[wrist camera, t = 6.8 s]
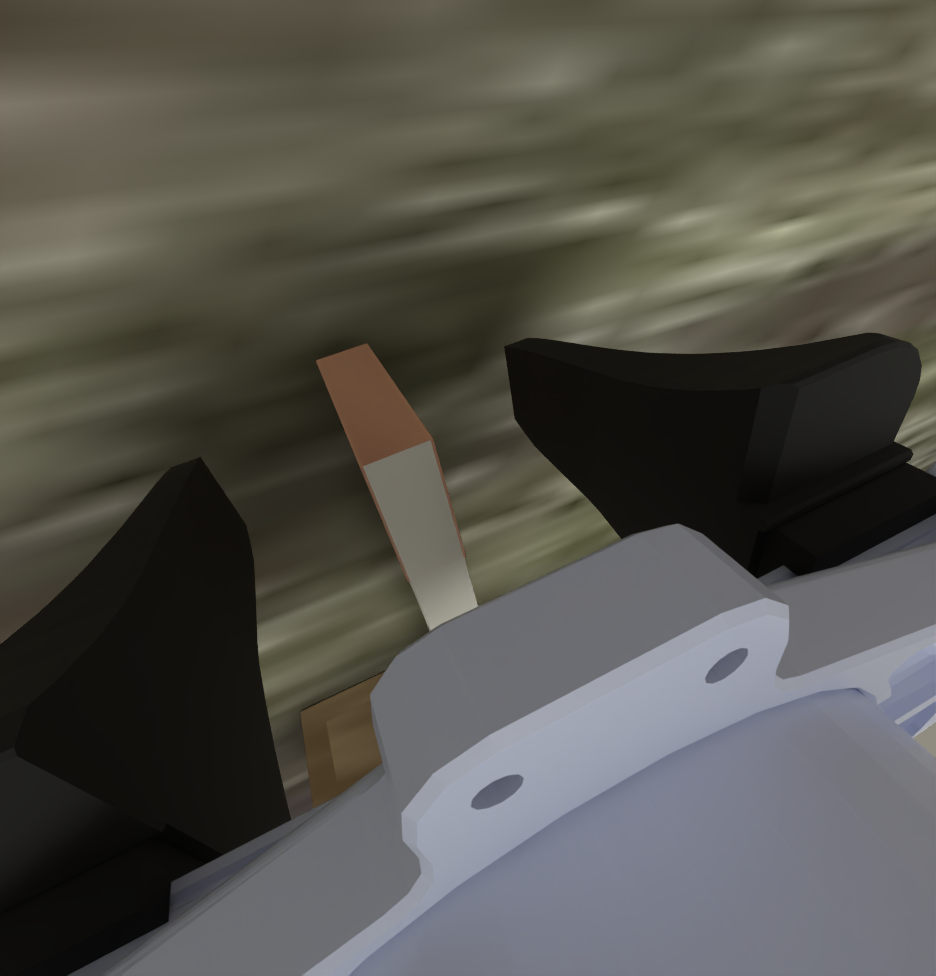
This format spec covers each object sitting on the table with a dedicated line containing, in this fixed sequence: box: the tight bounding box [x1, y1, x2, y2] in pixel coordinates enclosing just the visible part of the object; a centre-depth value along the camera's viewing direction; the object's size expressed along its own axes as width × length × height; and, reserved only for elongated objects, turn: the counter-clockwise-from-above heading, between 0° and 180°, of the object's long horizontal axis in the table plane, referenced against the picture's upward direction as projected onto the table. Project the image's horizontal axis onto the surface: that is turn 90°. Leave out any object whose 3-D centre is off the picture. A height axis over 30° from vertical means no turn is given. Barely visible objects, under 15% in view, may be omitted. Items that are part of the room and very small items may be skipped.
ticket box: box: [300, 672, 385, 808], centre depth 24 cm, size 15×14×8 cm
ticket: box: [316, 343, 478, 631], centre depth 16 cm, size 19×1×5 cm, turn 11°
